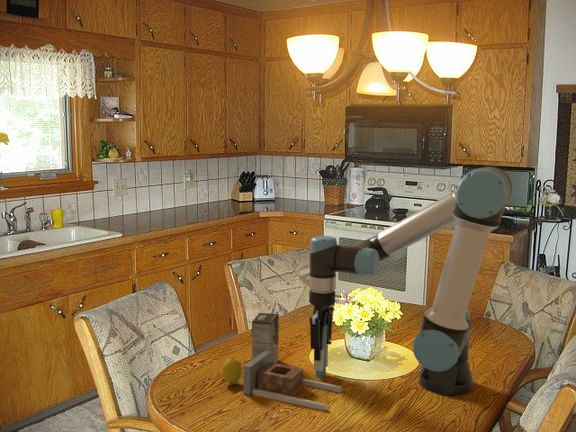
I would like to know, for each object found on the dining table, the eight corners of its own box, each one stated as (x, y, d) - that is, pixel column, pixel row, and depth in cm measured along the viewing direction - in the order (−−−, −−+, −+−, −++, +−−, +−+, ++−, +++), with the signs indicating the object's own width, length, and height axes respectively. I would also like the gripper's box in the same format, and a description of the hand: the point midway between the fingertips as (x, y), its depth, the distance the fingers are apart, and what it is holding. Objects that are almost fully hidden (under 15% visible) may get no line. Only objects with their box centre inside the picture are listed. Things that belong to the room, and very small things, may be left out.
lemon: (233, 390, 170) (234, 362, 169) (218, 385, 173) (218, 358, 172) (245, 383, 175) (245, 356, 174) (230, 378, 178) (230, 352, 177)
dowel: (327, 376, 180) (328, 324, 177) (323, 380, 177) (324, 327, 175) (317, 375, 181) (318, 323, 179) (313, 378, 178) (314, 326, 176)
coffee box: (258, 361, 192) (259, 311, 189) (278, 363, 190) (279, 313, 188) (251, 372, 183) (251, 321, 180) (271, 374, 181) (272, 322, 179)
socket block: (302, 387, 170) (303, 368, 170) (290, 398, 163) (291, 379, 162) (270, 380, 175) (270, 362, 174) (257, 391, 167) (257, 372, 167)
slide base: (346, 394, 169) (347, 363, 168) (326, 417, 155) (327, 383, 154) (265, 377, 179) (266, 348, 178) (240, 397, 166) (241, 366, 164)
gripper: (320, 282, 184) (318, 356, 187) (299, 295, 170) (297, 375, 173) (344, 285, 181) (342, 360, 184) (324, 298, 166) (322, 380, 170)
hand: (320, 367), depth 179 cm, fingers closed on dowel, 3 cm apart
